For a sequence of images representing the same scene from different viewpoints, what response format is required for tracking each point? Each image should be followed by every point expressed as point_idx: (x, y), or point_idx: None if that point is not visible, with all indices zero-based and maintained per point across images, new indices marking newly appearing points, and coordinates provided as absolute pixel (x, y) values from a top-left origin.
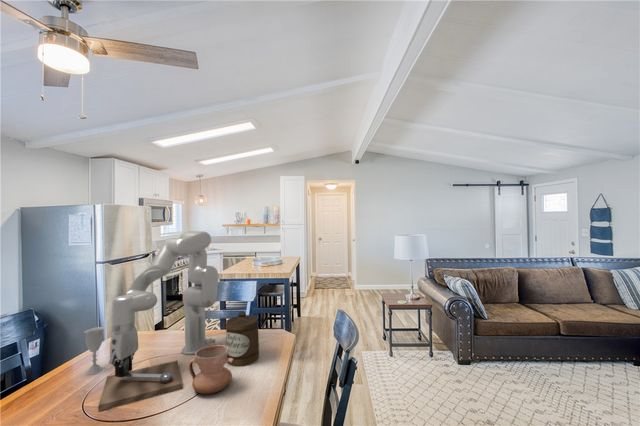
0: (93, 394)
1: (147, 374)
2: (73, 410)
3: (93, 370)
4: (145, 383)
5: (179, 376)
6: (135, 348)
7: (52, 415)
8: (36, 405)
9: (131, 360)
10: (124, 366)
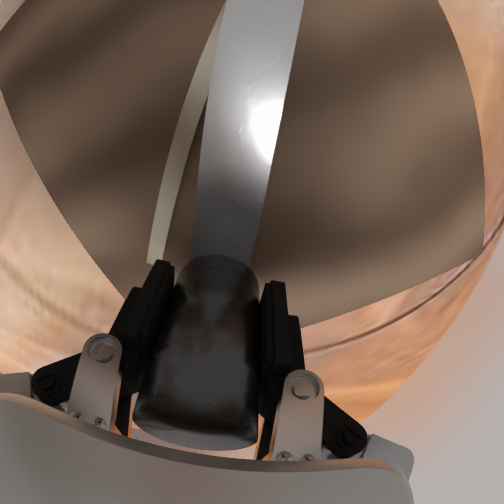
0: (304, 335)
1: (232, 45)
2: (408, 332)
3: (135, 397)
4: (313, 43)
5: None
6: (26, 466)
7: (404, 364)
8: None
9: (109, 336)
10: (246, 348)
